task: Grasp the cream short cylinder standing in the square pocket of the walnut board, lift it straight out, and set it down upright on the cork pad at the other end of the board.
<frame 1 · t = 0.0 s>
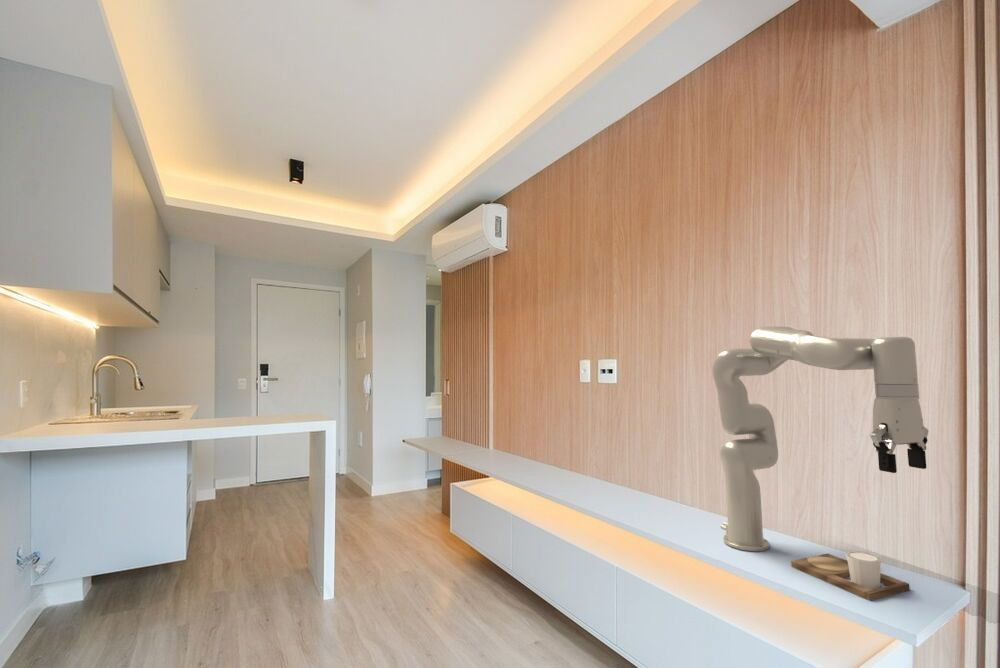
hand: (902, 469, 104), 31 cm above the table, tool pointing down, fingers open, 9 cm apart
cream short cylinder: (865, 586, 116), resting in pocket board
pocket board: (847, 577, 120), on the table
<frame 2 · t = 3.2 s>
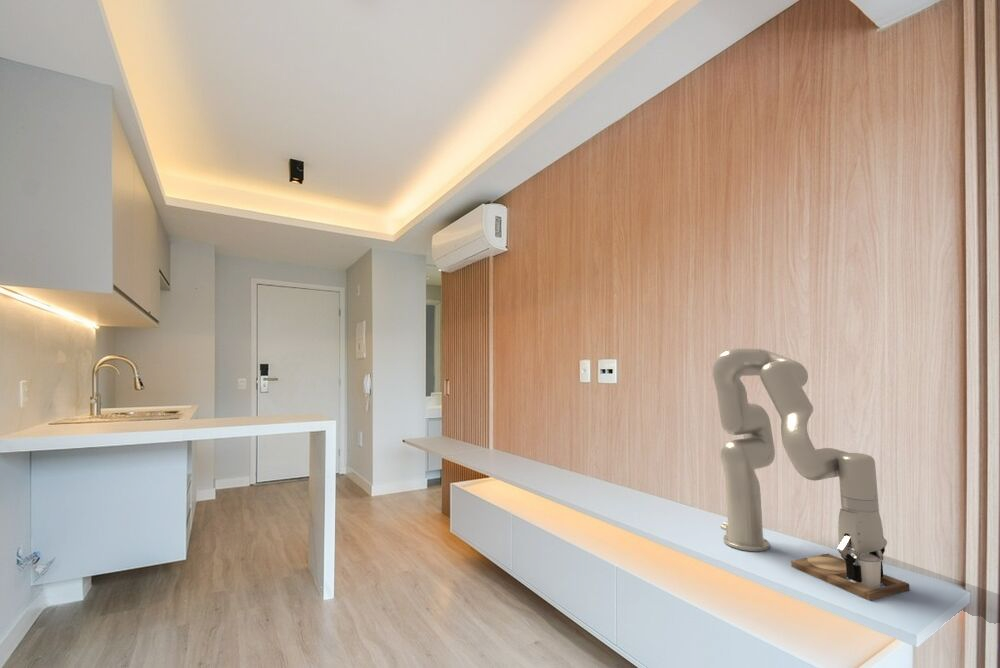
hand: (865, 577, 116), 2 cm above the table, tool pointing down, fingers closed on cream short cylinder, 6 cm apart
cream short cylinder: (865, 586, 116), resting in pocket board, touching gripper
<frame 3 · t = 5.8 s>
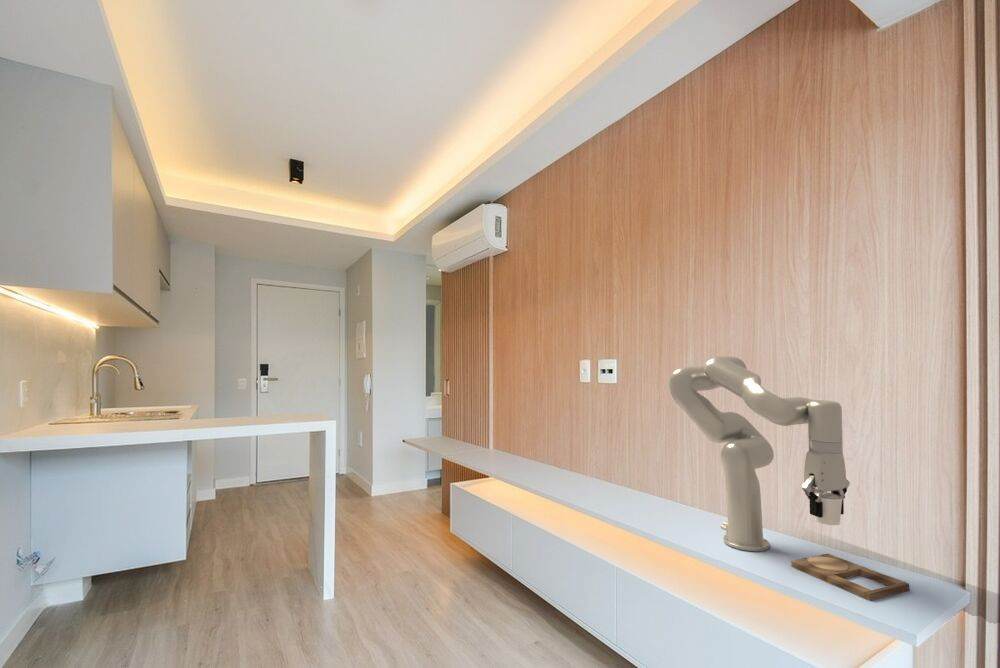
hand: (826, 513, 125), 15 cm above the table, tool pointing down, fingers closed on cream short cylinder, 6 cm apart
cream short cylinder: (826, 522, 125), point 13 cm above the table, touching gripper
when the fingers open (5 cm above the table, at t = 8.5 s): cream short cylinder stays where it is, resting on pocket board.
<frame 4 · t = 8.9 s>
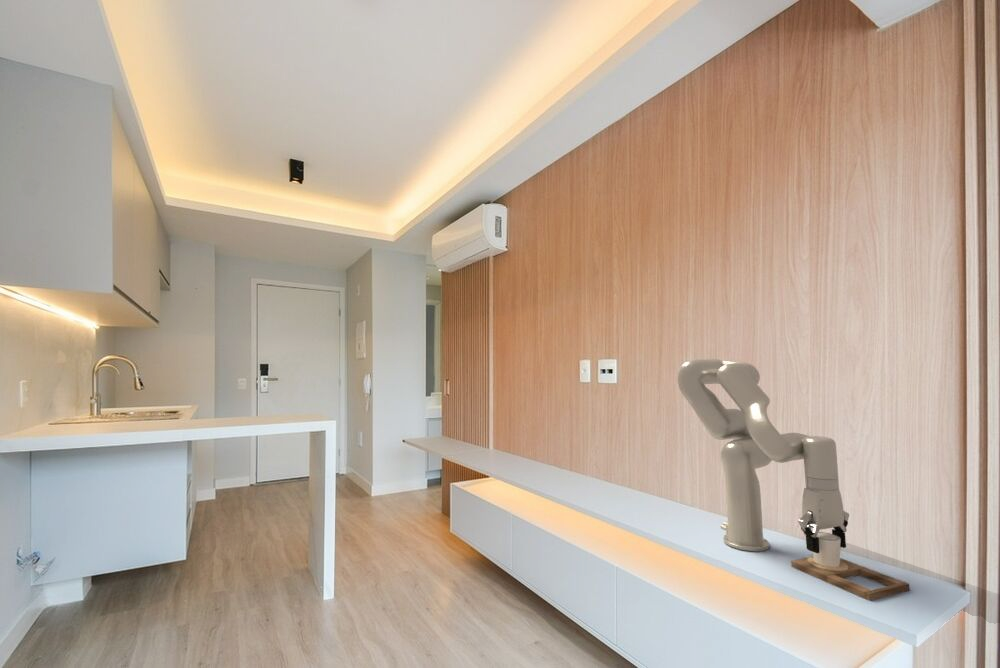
hand: (826, 548, 126), 5 cm above the table, tool pointing down, fingers open, 9 cm apart
cream short cylinder: (826, 563, 126), point 2 cm above the table, touching pocket board
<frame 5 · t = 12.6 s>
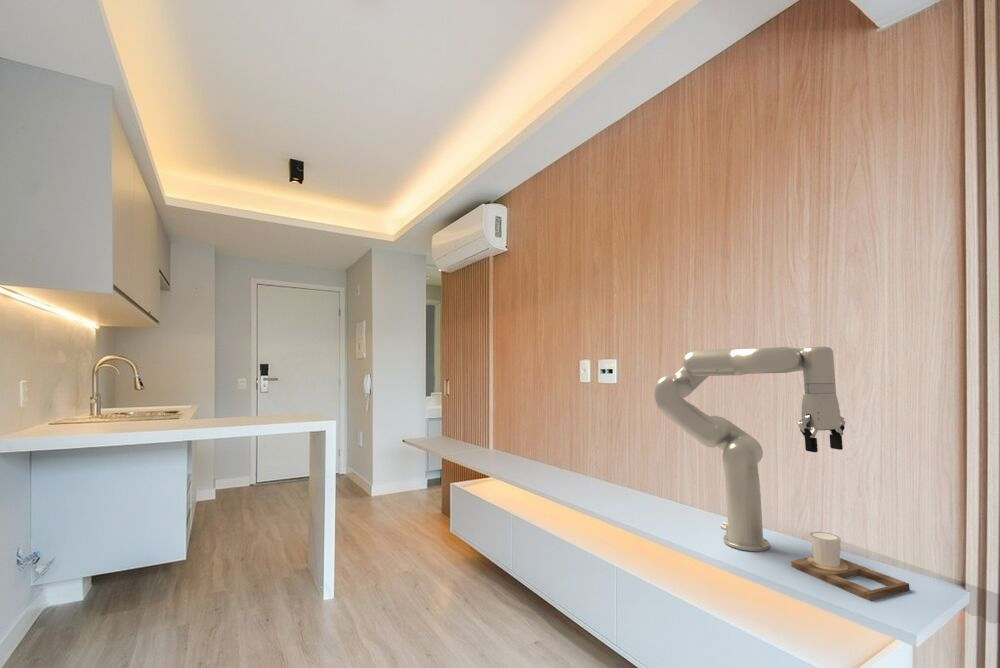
hand: (824, 450, 133), 30 cm above the table, tool pointing down, fingers open, 9 cm apart
nothing on the table moved.
at the end: cream short cylinder inside the target area on the pocket board (0.2 cm from its centre), point 1.6 cm above the pocket board's base; cream short cylinder tilted 0°; the gripper is holding nothing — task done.
